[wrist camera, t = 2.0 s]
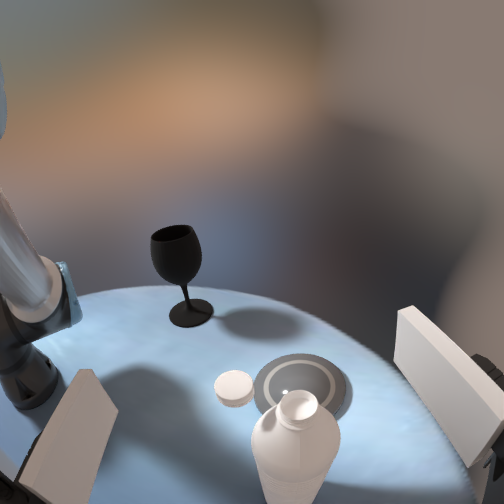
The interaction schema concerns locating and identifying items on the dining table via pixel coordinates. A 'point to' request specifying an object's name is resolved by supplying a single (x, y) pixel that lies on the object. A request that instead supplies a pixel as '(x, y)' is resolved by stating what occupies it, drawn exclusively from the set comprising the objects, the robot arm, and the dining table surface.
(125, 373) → the dining table surface
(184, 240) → the wine glass
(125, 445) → the dining table surface
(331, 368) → the slate coaster
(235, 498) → the dining table surface
